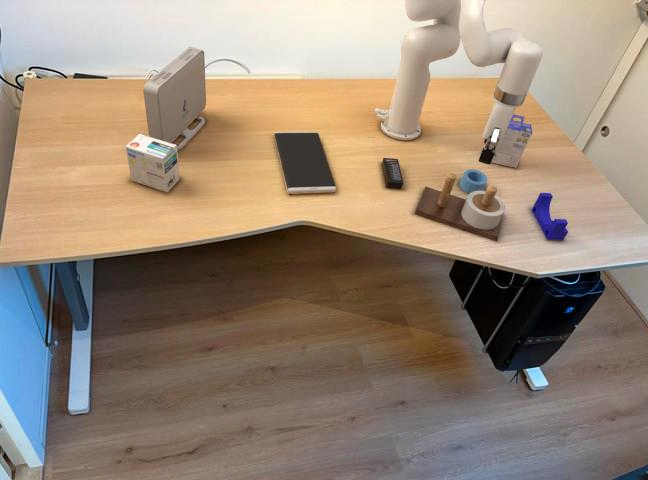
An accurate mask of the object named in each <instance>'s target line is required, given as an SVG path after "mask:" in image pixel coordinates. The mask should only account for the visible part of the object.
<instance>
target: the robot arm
mask: <svg viewBox="0 0 648 480" xmlns="http://www.w3.org/2000/svg"><path fill="white" fill-rule="evenodd" d="M485 1H486V0H404V4H405V7H404V8H405V12H406V13H405V14H406V16H407V18H408V19H409V20H410V21H411V22H415V23H416V22H417V23H418V22H425V21H431V20H432V21H433V22H432V23H433V24H428V25H423V26H419V27H415V28H412V29H411V30H408V32H406V34H405V35H404V36H403V38H402V40H401V44H400V58H399V59H400V60H399V68H398V72H397V76H396V80H395V84H394V89H393V93H392V97H391V102H390V104H389V105H390V106H389V109H382V108H379V107H375V110H374V112H373V114H374V115H376V116H375V118H376V119H379V120H381V122H380V129H381V130H382V132H383V133H384V134H385V135H387V136H388V137H390V138H392V139H396V140H399V141H411V140H412V141H413V140H414V139H417V138H418V137H419V136H420V135H421V133H422V132H421V131H422V128H421V125H420V124H419V120H420V118H421V114H422V110H423V107H424V104H425V100H426V96H427V93H428V90H429V86H430V83H431V71H430V64H432V63H434V62H437V61H440V60H441V61H442V60H444V59H447V58H450V57H452V56H454V55H455V54H456V53H457V52H458V50H459V48H460V44H461V43H462V46H463V49H464V52H465V55H466V56H467V58H468V60H469V62H470V63H471V64H472V65H474V66H475V67H477V68H486V67H489V66H494V65H496V64H503V67H502V69H501V72H500V74H499V77H498V80H497V82H496V84H495V85H496V86H495V88H494V91H493V94H492V99H493V101H494V102H493V105H492V107H491V109H490V113H489V114H488V118H487V120H486V123H485V126H484V129H483V132H482V140H484V141H483V143H484V144H485V145H484V147H482V149H481V153H480V155H479V157H478V162H479V163H482V164H485V165H489V166H490V165H491V164H492V163H491V161H492V159H493V157H494V154H495V149H496V146H497V144H498V143H500V142H501V141H502V139H503V136H504V134H505V132H506V130H507V128H508V126H509V123H510V121H511V118H512V116H513V114H515V111H516V109H517V108H520V107H522V106H523V104H524V102H525V99H526V97H527V95H528V92H529V89H530V88H531V85H532V83H533V80H534V78H535V75H536V73H537V70H538V68H539V66H540V63H541V60H542V58H543V57H544V56H543V54H544V50H543V48H542V47H541V46H540V45H539V44H537V43H535V42H533V41H529V40H528V39H527V38H526V37H525V36H524V35H522V33H521V32H519V31H518V30H516V29H515V28H512V27H505V28H500V29H494V30H490V31H488V30H487V27H486V23H485V19H484V5H485V3H486V2H485Z"/></svg>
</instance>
